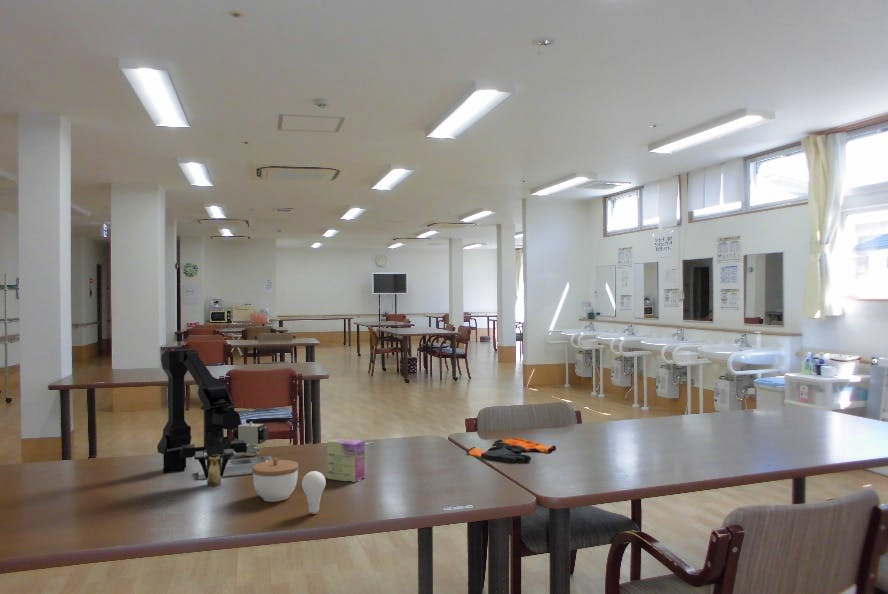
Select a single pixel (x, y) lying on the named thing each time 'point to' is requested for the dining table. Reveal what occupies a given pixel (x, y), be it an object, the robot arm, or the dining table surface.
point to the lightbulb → (313, 489)
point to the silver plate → (238, 466)
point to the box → (345, 459)
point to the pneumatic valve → (251, 436)
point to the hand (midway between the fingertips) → (214, 477)
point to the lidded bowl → (275, 479)
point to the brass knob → (213, 470)
